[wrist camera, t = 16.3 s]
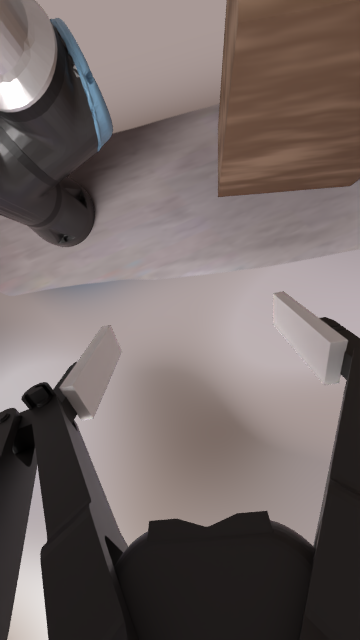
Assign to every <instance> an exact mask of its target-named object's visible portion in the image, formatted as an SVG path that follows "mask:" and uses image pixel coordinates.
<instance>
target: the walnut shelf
mask: <svg viewBox="0 0 360 640" xmlns="http://www.w3.org/2000/svg"><path fill="white" fill-rule="evenodd" d="M358 179H360V0H227V5H226V19H225V34H224V49H223V63H222V78H221V94H220V107H219V122H218V197H224V196H236V195H248V194H260V193H272V192H284V191H296V190H307V189H319V188H331V187H343V186H351V185H352V184H353V183H355V182H356V181H357V180H358Z"/></svg>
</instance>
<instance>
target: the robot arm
mask: <svg viewBox="0 0 360 640" xmlns="http://www.w3.org/2000/svg"><path fill="white" fill-rule="evenodd" d="M112 132H113V126H112V121H111V118H110V114H109V111H108V109H107V106H106V104H105V101H104V99H103V96H102V94H101V92H100V90H99V87H98V85H97V83H96V81H95V79H94V78H93V76H92V73H91V71H90V69H89V66H88V64H87V61H86V59H85V58H84V55H83V54H82V52H81V50H80V48H79V46H78V44H77V42H76V40H75V39H74V37H73V35H72V34H71V32H70V30H69V29H68V27H67V26H66V24H65V23H64V22H63V21H62V20H61V19H59V18H56V19H49V18H48V16H47V14H46V13H45V11H44V10H43V8H42V7H41V6H40V5H39V4H38V3H37V2H36V1H35V0H0V215H2V216H4V217H7V218H9V219H12V220H14V221H17V222H19V223H22V224H25V225H27V226H29V227H30V228H31V229H32V230H33V231H34V232H36V233H37V234H38V235H39V236H40V237H41V238H43V239H44V240H46V241H47V242H49V243H52V244H54V245H57V246H61V247H71V246H74V245H77V244H79V243H80V242H82V241H83V240H84V239H85V238H86V237H87V236H88V234H89V232H90V231H91V228H92V226H93V222H94V207H93V203H92V200H91V198H90V196H89V195H88V193H87V192H86V191H85V190H84V189H83V188H82V187H81V186H80V185H79V184H78V183H77V182H75V181H74V180H72V179H70V178H68V177H67V176H68V175H69V174H70V173H72V172H73V171H74V170H75V169H77V168H78V167H79V166H80V165H82V164H83V163H84V162H85V161H87V160H88V159H89V158H90V157H91V156H93V155H94V154H95V153H96V152H98V151H100V149H101V147H102V146H103V145H104V144H105V143H106V142H107V141H108V140H109V139H110V138H111V136H112ZM273 325H274V326H275V327H276V328H277V330H278V331H279V332H280V333H281V334H282V336H283V337H284V338H285V339H286V340H287V342H288V343H289V344H290V345H291V346H292V347H293V349H294V350H295V351H296V352H297V354H298V355H299V356H300V357H301V358H302V360H303V361H304V362H305V363H306V364H307V366H308V367H309V368H310V369H311V370H312V372H313V373H314V374H315V375H316V376H317V378H318V379H319V380H320V381H321V382H322V384H323V385H329V384H336V383H339V381H340V376H341V375H342V376H343V377H344V378H345V379H346V380H347V382H346V386H345V390H344V396H343V401H342V406H341V411H340V417H339V421H338V427H337V431H336V436H335V442H334V447H333V452H332V457H331V462H330V467H329V472H328V477H327V483H326V487H325V492H324V498H323V502H322V507H321V512H320V517H319V522H318V526H317V531H316V536H315V541H314V546H312V545H311V544H310V543H309V542H308V541H307V540H305V539H304V538H303V537H302V536H301V535H299V534H298V533H296V532H295V531H293V530H291V529H290V528H288V527H286V526H285V525H282V524H280V523H277V522H274V521H271V520H270V519H269V516H268V513H267V511H262V512H249V513H237V514H235V515H233V516H231V517H229V518H226V519H224V520H222V521H220V522H218V523H216V524H214V525H211V526H209V527H204V526H201V525H197V524H194V523H190V522H187V521H183V520H179V519H168V520H156V521H150V522H149V529H148V532H146V533H144V534H143V535H141V536H140V537H139V538H137V539H136V540H135V541H134V542H133V543H132V544H131V545H130V546H129V547H128V546H127V543H126V542H125V540H124V538H123V537H122V535H121V533H120V531H119V528H118V526H117V524H116V521H115V518H114V516H113V513H112V511H111V509H110V506H109V503H108V501H107V498H106V496H105V493H104V491H103V488H102V486H101V483H100V481H99V478H98V476H97V473H96V471H95V469H94V466H93V463H92V461H91V458H90V456H89V453H88V451H87V448H86V446H85V443H84V441H83V439H82V436H81V434H80V431H79V428H78V426H77V424H76V422H75V421H74V419H75V417H76V415H78V416H79V418H80V419H81V420H88V419H93V418H94V416H95V414H96V411H97V409H98V407H99V404H100V402H101V399H102V397H103V395H104V393H105V390H106V388H107V385H108V383H109V381H110V378H111V376H112V374H113V371H114V369H115V367H116V364H117V362H118V360H119V357H120V355H121V353H122V351H121V348H120V346H119V343H118V341H117V339H116V337H115V334H114V332H113V329H112V327H111V325H108V326H103V327H101V329H100V330H99V332H98V333H97V335H96V336H95V337H94V339H93V340H92V342H91V343H90V345H89V346H88V348H87V349H86V350H85V352H84V353H83V355H82V356H81V357H80V359H79V360H78V362H75V363H74V364H73V365H72V366H70V367H69V369H68V370H67V371H66V373H65V374H64V376H63V377H62V379H61V380H60V381H59V382H58V384H57V385H56V386H55V388H54V389H53V390H52V388H51V387H50V385H49V384H48V383H46V382H43V383H39V384H37V385H35V386H33V387H31V388H30V389H29V390H27V391H26V392H25V393H24V395H23V396H22V401H23V402H24V403H25V404H26V405H27V407H28V408H29V410H26V411H23V412H21V413H19V412H18V411H17V410H16V409H15V408H10V409H7V410H4V411H3V412H0V640H7V637H8V632H9V627H10V621H11V615H12V610H13V603H14V598H15V592H16V586H17V580H18V575H19V569H20V563H21V556H22V551H23V545H24V540H25V534H26V528H27V522H28V516H29V510H30V505H31V499H32V493H33V487H34V481H35V475H36V470H37V464H38V471H39V479H40V486H41V494H42V501H43V508H44V516H45V523H46V530H47V543H46V544H45V545H44V546H43V547H42V549H41V569H42V579H43V589H44V599H45V609H46V618H47V628H48V638H49V640H360V338H358V337H357V336H356V335H354V334H353V333H351V332H350V331H348V330H346V328H344V327H343V326H341V325H340V324H338V323H337V322H336V321H334V320H332V319H329V318H326V317H323V318H318V317H316V316H315V315H314V314H313V313H311V312H310V311H309V310H307V309H306V308H305V307H303V306H302V305H301V304H299V303H298V302H297V301H295V300H294V299H293V298H292V297H290V296H289V295H288V294H286V293H285V292H279V293H274V294H273Z"/></svg>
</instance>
